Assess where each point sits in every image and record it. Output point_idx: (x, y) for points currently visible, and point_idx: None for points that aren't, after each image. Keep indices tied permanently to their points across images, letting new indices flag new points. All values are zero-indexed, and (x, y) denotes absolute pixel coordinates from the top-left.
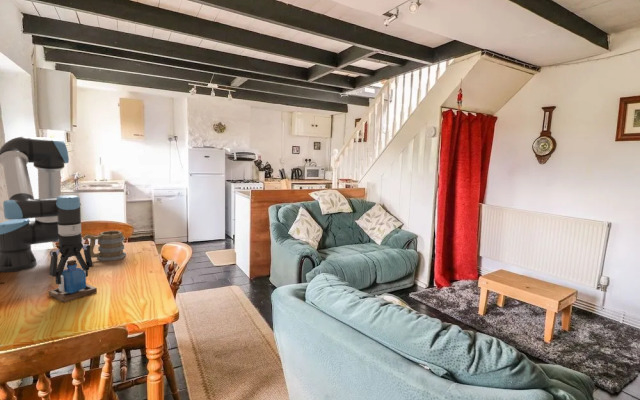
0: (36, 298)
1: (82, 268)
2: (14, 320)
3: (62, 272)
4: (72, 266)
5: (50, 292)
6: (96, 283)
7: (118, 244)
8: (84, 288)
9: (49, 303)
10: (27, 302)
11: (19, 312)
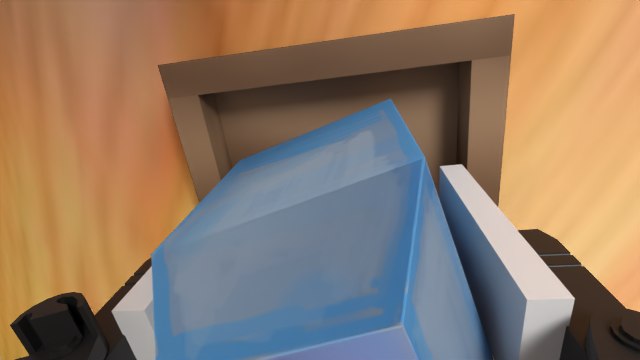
0: (97, 56)
1: (588, 326)
2: (17, 313)
3: (164, 340)
4: None
5: (176, 107)
6: (633, 61)
7: None
8: (453, 162)
9: None
10: (42, 98)
11: (21, 237)
